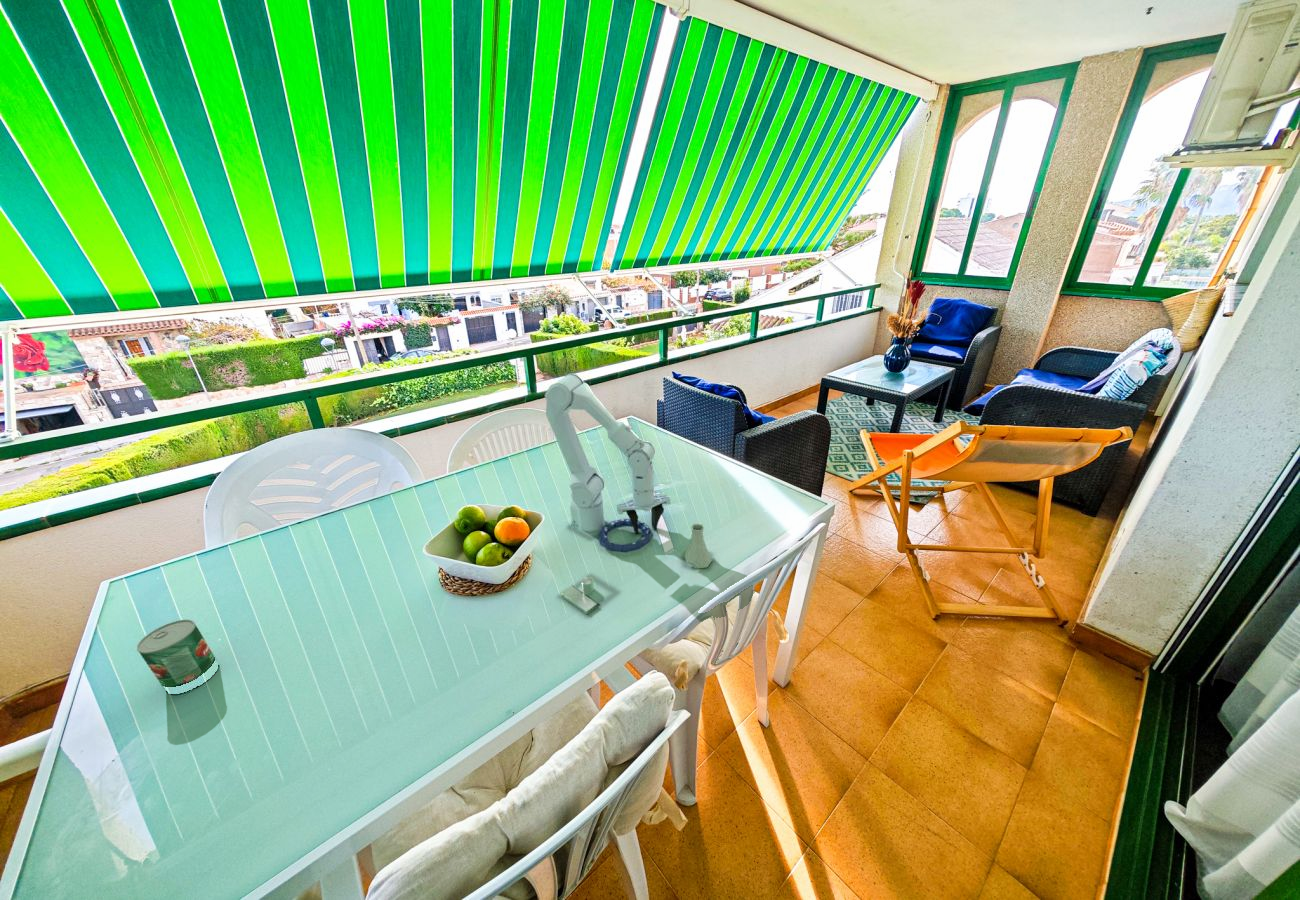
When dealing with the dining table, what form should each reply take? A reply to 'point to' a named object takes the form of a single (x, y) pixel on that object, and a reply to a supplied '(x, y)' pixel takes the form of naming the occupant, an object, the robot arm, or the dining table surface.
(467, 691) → the dining table surface
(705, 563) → the flask
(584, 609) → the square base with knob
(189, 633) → the canned tomato
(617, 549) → the ring
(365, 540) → the dining table surface
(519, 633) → the dining table surface
